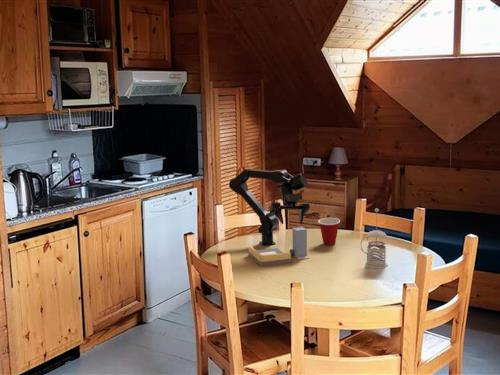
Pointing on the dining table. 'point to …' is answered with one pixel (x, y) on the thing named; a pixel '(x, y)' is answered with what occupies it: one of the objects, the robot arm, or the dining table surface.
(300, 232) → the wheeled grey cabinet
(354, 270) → the dining table surface
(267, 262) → the wooden frame
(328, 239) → the plastic cup
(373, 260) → the french press
